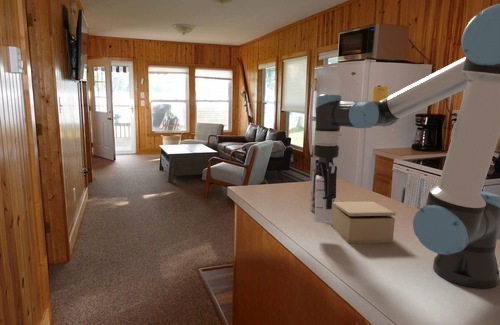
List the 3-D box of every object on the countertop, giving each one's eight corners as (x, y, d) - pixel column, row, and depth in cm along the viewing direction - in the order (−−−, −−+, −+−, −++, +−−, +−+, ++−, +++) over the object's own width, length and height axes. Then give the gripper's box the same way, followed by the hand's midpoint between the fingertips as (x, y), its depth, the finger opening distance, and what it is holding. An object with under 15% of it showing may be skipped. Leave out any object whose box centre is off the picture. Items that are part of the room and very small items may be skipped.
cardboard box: (392, 242, 117) (394, 218, 115) (348, 243, 115) (350, 219, 113) (370, 224, 132) (372, 203, 131) (331, 225, 130) (332, 204, 129)
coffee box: (311, 211, 146) (313, 173, 143) (310, 207, 152) (312, 169, 149) (334, 213, 145) (336, 174, 142) (332, 208, 151) (334, 170, 148)
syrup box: (332, 223, 114) (334, 178, 111) (313, 222, 115) (315, 177, 113) (332, 218, 119) (334, 175, 117) (314, 216, 120) (315, 174, 118)
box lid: (395, 215, 115) (395, 212, 115) (350, 216, 113) (350, 213, 113) (372, 203, 131) (372, 201, 131) (332, 204, 129) (332, 201, 129)
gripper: (350, 148, 104) (346, 224, 108) (327, 140, 123) (324, 205, 127) (325, 148, 103) (321, 225, 107) (306, 140, 122) (303, 206, 126)
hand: (323, 214), depth 117 cm, fingers closed on syrup box, 7 cm apart
